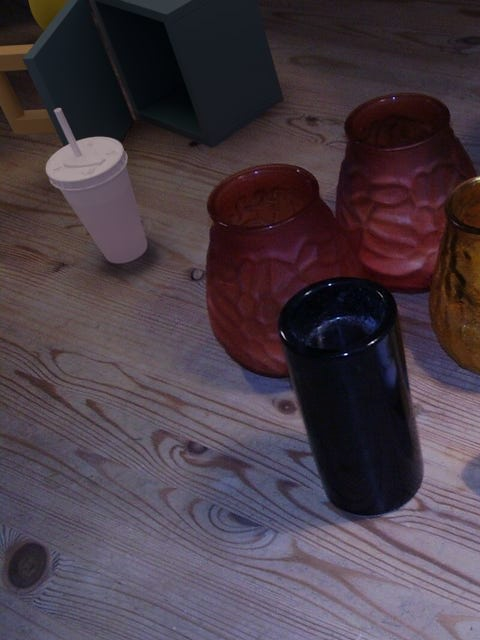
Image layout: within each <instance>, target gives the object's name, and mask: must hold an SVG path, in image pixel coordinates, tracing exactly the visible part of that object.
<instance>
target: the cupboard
mask: <svg viewBox="0 0 480 640" xmlns="http://www.w3.org/2000/svg"><path fill="white" fill-rule="evenodd" d="M88 1H89V4H90V6H91V9H92V11H93V14H94V17H95V19H96V21H97V24H98V26H99V29H100V31H101V34H102V36H103V39H104V41H105V44H106V47H107V49H108V51H109V55H110V56H111V59H112V61H113V64H114V66H115V69H116V71H117V74H118V77H119V79H120V81H121V84H122V86H123V87H122V88H123V89H124V92H125V94H126V97H127V99H128V101H129V104H130V106H131V110H132V112H133V114H134V116H135V119H137V120H140V121H144V122H146V123H148V124H151V125H153V126H156V127H157V128H158V127H159V128H161V129H164V130H166V131H168V132H171V133H173V134H176V135H179V136H181V137H184V138H186V139H189V140H191V141H194V142H197V143H199V144H202V145H203V146H206V147H208V148H211V149H215V148H216V147H217V146H218V145H220V144H222V143H223V142H225V141H226V140H227V139H230V137H232V136H233V135H234V134H236V133H237V132H239V131H240V130H242V129H243V128H245V127H246V126H248V125H249V124H250V123H252V122H254V121H255V120H256V119H258V118H259V117H261V116H262V115H263V114H265V113H266V112H268V111H269V110H271V109H272V108H274V107H275V106H276V105H278V104H279V103H281V102H283V101H284V98H285V97H284V94H283V91H282V88H281V84H280V81H279V77H278V74H277V73H278V72H277V70H276V66H275V62H274V58H273V55H272V51H271V48H270V45H269V40H268V37H267V34H266V29H265V26H264V22H263V19H262V15H261V11H260V7H259V4H258V1H257V0H88Z"/></svg>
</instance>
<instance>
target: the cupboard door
mask: <svg viewBox="0 0 480 640" xmlns="http://www.w3.org/2000/svg"><path fill="white" fill-rule="evenodd" d="M14 71H27V72H28V74H29V76H30V78H31V81H32V82H33V84H34V85H33V86H34V87H35V89H36V91H37V94H38V95H39V97H40V99H41V102H42V104H43V106H44V109H26V110H25V109H23V107H22V105H21V103H20V101H19V99H18V97H17V95H16V93H15V91H14V89H13V86H12V85H11V82H10V81H9V78H8V76H7V75H6V73H5V72H14ZM0 108H1V110H2V112H3V114H4V116H5V118H6V120H7V122H8V124H9V125H10V127H11V129H12V131H13V133H14V134H15V135H17V136H18V135H19V136H20V135H21V136H22V135H40V134H41V135H42V134H57V136H58V138H59V140H60V142H61V145H62V146H63V147H64V146H66V145H68V144H69V142H68V140H67V138H66V136H65V134H64V131H63V129H62V127H61V125H60V123H59V121H58V118H57V116H56V114H55V112H54V110H55V109H57V108H61V110H62V112H63V114H64V116H65V118H66V121H67V123H68V125H69V127H70V129H71V131H72V134H73V136H74V138H75V140H76V141H78V140H81V139H86V138H91V137H108V138H112V139H115V140H117V141H119V142H120V143H121V144H122V142H123V140H124V138H125V137H126V135H127V133H128V131H129V130H130V129H131V126H132V125H133V123H134V121H135V119H134V117H133V115H132V111H131V109H130V107H129V104H128V102H127V99H126V97H125V95H124V92H123V89H122V87H121V84H120V82H119V80H118V76H117V75H116V72H115V70H114V67H113V64H112V62H111V60H110V58H109V55H108V52H107V49H106V47H105V45H104V42H103V40H102V37H101V35H100V32H99V30H98V27H97V25H96V22H95V20H94V17H93V15H92V13H91V10H90V7H89V5H88V3H87V0H68V1H67V3H66V4H65V5H64V7H63V8H62V9H61V10H60V12H59V13H58V14H57V15H56V17H55V18H54V19H53V21H52V22H51V23H50V24H49V26H48V27H47V28H46V30H43V32H42V33H41V34H40V36H39V37H38V38H37V39H36V41H35V42H34V43H31V44H16V45H15V44H14V45H0Z"/></svg>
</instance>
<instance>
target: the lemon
mask: <svg viewBox="0 0 480 640" xmlns="http://www.w3.org/2000/svg"><path fill="white" fill-rule="evenodd" d="M67 1H68V0H28V3H29V8H30V12H31V14H32V16H33V18H34V21H35V22H36V23H37V24H38V26H39V27H40V28H41V29H42V30H43V31H45V30H46V28H47V27H48V26H49V24H50V23H51V22H52V21H53V19H54V18H55V17H56V15H57V14H58V13H59V12H60V10H61V9H62V8H63V7H64V5H65V4H66V3H67Z"/></svg>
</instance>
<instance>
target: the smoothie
mask: <svg viewBox="0 0 480 640" xmlns="http://www.w3.org/2000/svg"><path fill="white" fill-rule="evenodd" d="M54 112H55V114H56V116H57V118H58V121H59V123H60V125H61V127H62V129H63V131H64V134H65V136H66V138H67V140H68V142H69V144H68V145H66V146H63V147H61V148H60V149H58V150H56V151H55V152H54V153H53V154H52V155H51V156H50V157H49V159H48V160H47V161H46V164H45V173H46V175H47V176H48V177H47V178H48V179H49V182H50V184H51V185H52V186H53V187H54V188H56V189H59V190H60V192H61V194H62V195H63V197H64V199H65V200H66V202H68V205H69V206H70V207H71V209H72V210H73V211H74V213H75V214H76V216H77V218H78V219H79V221H80V222H81V223H82V225H83V227H84V228H85V229H86V231H87V232H88V234H89V235H90V237H91V238H92V240H93V241H94V243H95V245H96V246H97V247H98V249H99V250H100V252H101V253H102V254H103V257H104V258H105V259H106V261H108V262H110V263H112V264H125V263H129V262H132V261H135V260H136V259H139V258H140V257H141V256H143V254H145V252H146V251H147V249H148V241H147V236H146V234H145V230H144V226H143V223H142V219H141V215H140V211H139V208H138V204H137V200H136V196H135V193H134V190H133V186H132V182H131V178H130V174H129V171H128V168H127V164H128V159H129V156H128V154H127V151H126V150H125V149H124V146H123V144H122V142H121V143H120V142H119V141H117V140H115V139H112V138H108V137H91V138H86V139H81V140H78V141H76V140H75V138H74V136H73V134H72V131H71V129H70V127H69V125H68V123H67V121H66V118H65V116H64V114H63V112H62V110H61V108H57V109H55V110H54Z"/></svg>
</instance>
